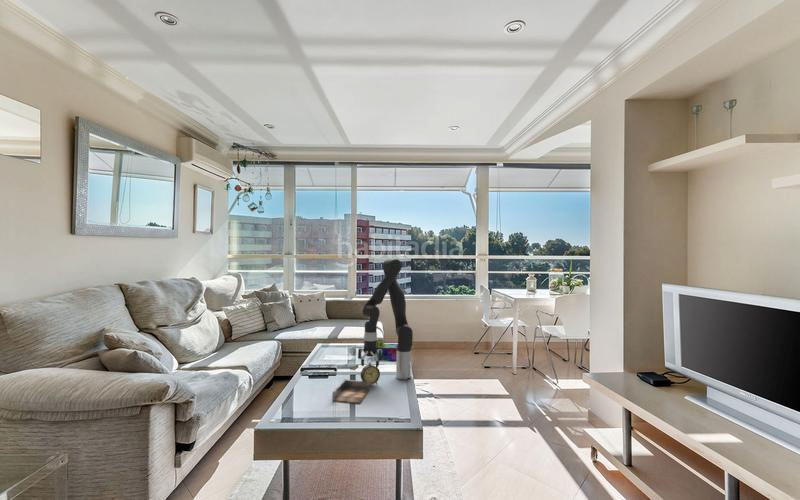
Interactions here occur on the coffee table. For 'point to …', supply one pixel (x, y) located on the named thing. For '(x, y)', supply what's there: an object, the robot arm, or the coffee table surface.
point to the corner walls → (350, 386)
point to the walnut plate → (351, 395)
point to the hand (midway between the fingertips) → (369, 366)
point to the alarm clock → (370, 373)
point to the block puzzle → (387, 350)
